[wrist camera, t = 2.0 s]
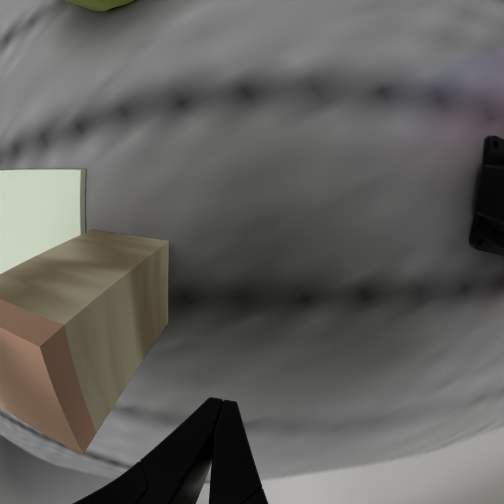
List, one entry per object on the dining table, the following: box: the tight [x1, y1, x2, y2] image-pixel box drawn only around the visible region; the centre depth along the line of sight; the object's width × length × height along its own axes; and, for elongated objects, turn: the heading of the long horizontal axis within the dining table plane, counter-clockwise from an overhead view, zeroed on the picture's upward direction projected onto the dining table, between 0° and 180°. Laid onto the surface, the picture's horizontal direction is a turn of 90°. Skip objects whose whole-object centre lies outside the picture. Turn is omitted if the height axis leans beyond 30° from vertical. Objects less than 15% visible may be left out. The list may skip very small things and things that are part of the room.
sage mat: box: [0, 169, 86, 274], centre depth 17 cm, size 12×12×1 cm
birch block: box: [0, 230, 169, 454], centre depth 11 cm, size 5×5×10 cm
